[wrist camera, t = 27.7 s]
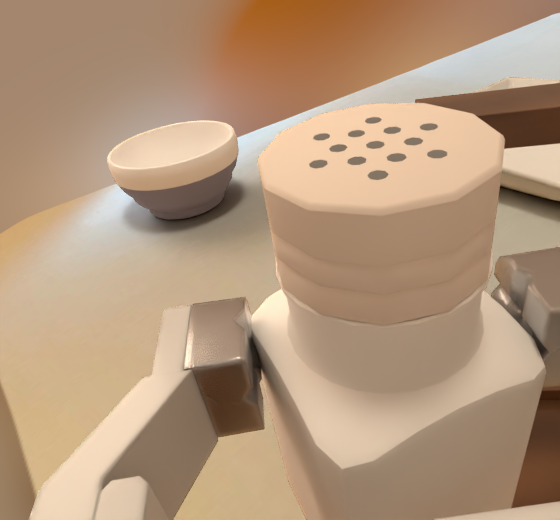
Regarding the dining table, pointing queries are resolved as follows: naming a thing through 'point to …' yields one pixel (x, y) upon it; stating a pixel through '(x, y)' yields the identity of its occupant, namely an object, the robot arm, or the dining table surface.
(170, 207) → the bowl
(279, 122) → the dining table surface
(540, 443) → the window frame
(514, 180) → the square plate
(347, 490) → the salt shaker
